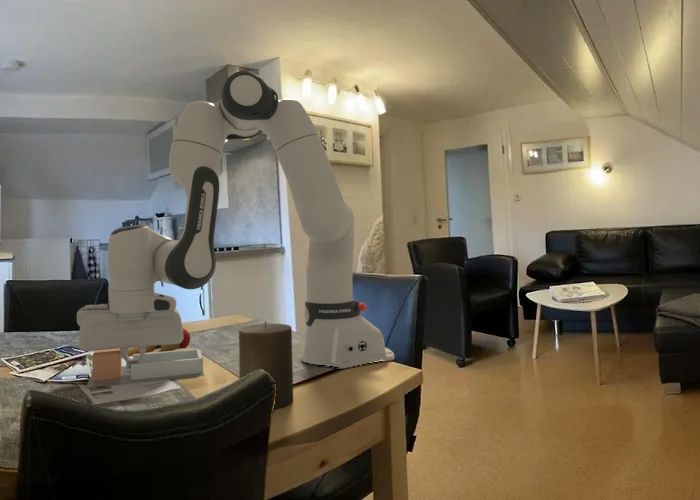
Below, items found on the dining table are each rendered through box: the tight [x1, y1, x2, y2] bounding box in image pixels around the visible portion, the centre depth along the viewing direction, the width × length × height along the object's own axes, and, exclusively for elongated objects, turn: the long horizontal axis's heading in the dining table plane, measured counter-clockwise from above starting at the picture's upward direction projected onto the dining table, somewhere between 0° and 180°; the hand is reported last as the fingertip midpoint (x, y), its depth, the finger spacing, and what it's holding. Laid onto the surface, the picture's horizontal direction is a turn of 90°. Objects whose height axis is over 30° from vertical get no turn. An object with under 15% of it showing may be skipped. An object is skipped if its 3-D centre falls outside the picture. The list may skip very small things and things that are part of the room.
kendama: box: [127, 328, 191, 357], centre depth 131 cm, size 8×6×18 cm
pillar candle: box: [237, 320, 294, 410], centre depth 95 cm, size 10×10×15 cm
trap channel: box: [85, 348, 205, 389], centre depth 110 cm, size 22×14×4 cm, turn 110°
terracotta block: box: [91, 348, 123, 381], centre depth 107 cm, size 5×5×5 cm
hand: (133, 367), depth 109 cm, fingers closed
